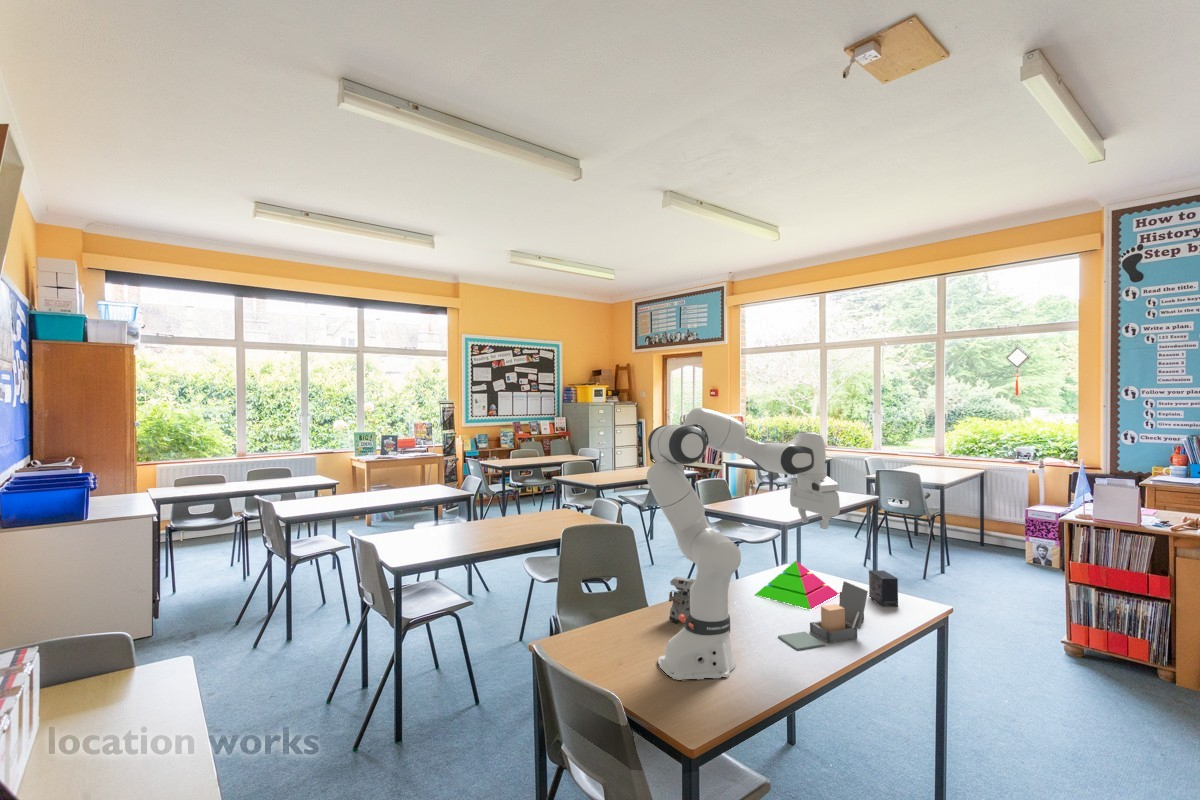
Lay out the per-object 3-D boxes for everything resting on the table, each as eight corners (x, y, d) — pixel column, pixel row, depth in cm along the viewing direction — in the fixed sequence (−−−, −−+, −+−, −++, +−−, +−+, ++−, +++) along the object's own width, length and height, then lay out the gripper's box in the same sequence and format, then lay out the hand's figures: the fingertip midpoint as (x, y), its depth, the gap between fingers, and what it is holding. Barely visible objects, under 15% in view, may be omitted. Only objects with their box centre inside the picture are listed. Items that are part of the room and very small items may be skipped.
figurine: (688, 629, 187) (687, 585, 187) (666, 619, 197) (665, 576, 197) (708, 623, 192) (707, 580, 192) (685, 613, 202) (685, 572, 202)
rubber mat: (797, 650, 170) (797, 648, 170) (778, 637, 179) (778, 635, 179) (824, 645, 172) (824, 643, 172) (804, 633, 182) (804, 631, 182)
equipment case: (829, 643, 174) (828, 595, 174) (809, 631, 184) (808, 585, 184) (869, 636, 178) (867, 590, 178) (847, 625, 188) (846, 580, 188)
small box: (899, 606, 204) (899, 578, 204) (882, 606, 204) (881, 578, 204) (885, 596, 214) (884, 569, 215) (868, 597, 215) (867, 569, 215)
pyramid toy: (784, 582, 236) (783, 548, 236) (842, 596, 218) (841, 560, 218) (751, 597, 219) (750, 561, 219) (812, 613, 201) (810, 574, 201)
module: (829, 638, 178) (829, 610, 178) (821, 633, 182) (820, 606, 182) (845, 636, 179) (844, 608, 179) (836, 631, 183) (836, 604, 183)
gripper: (784, 479, 185) (786, 520, 185) (824, 487, 165) (827, 533, 165) (800, 477, 187) (802, 518, 187) (842, 485, 167) (844, 531, 167)
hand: (814, 525), depth 176 cm, fingers open, 8 cm apart
